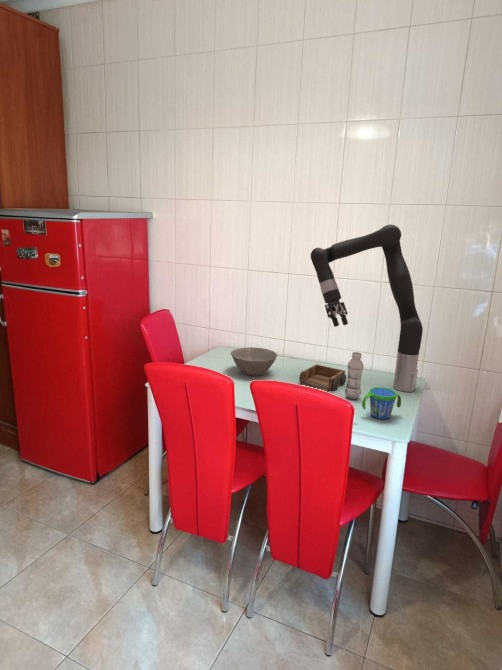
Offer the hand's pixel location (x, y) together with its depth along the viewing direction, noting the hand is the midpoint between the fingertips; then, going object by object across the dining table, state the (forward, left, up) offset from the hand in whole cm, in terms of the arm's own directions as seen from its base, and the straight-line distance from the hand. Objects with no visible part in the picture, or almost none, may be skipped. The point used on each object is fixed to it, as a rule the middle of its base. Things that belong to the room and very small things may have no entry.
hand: (341, 325), depth 205 cm
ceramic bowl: (+40, +9, -29) cm, 50 cm away
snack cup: (-27, +19, -29) cm, 44 cm away
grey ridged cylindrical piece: (-11, +8, -29) cm, 32 cm away
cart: (+7, +3, -29) cm, 30 cm away
